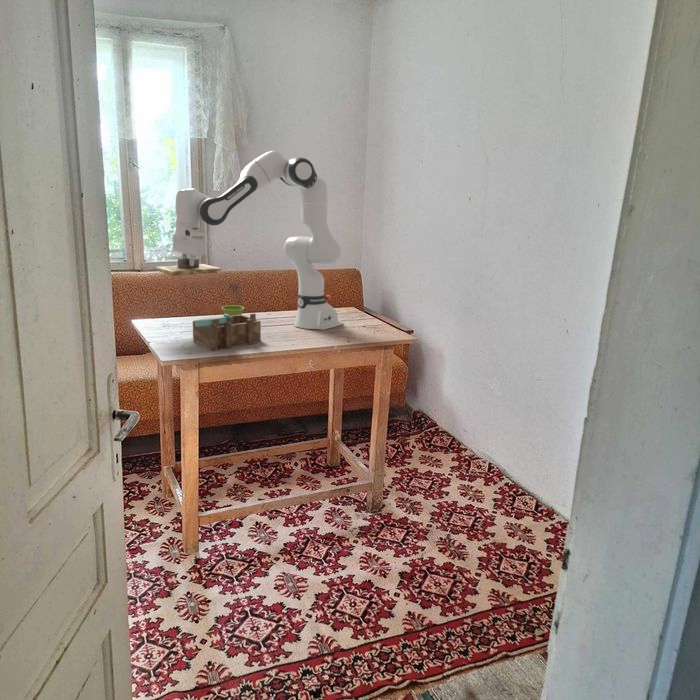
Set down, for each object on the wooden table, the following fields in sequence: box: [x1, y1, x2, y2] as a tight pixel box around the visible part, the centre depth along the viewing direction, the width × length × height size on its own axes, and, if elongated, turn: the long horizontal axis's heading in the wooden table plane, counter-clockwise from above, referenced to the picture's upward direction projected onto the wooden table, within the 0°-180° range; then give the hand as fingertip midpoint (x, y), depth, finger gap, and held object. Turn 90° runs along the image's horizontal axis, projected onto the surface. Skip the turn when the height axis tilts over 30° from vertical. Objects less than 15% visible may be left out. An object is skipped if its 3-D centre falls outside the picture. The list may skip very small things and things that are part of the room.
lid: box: [154, 257, 222, 277], centre depth 241 cm, size 22×17×5 cm
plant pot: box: [221, 304, 245, 316], centre depth 257 cm, size 9×9×9 cm
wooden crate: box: [192, 313, 262, 352], centre depth 233 cm, size 23×18×12 cm
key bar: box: [194, 313, 230, 327], centre depth 220 cm, size 13×2×3 cm, turn 133°
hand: (188, 265), depth 242 cm, fingers closed on lid, 2 cm apart
